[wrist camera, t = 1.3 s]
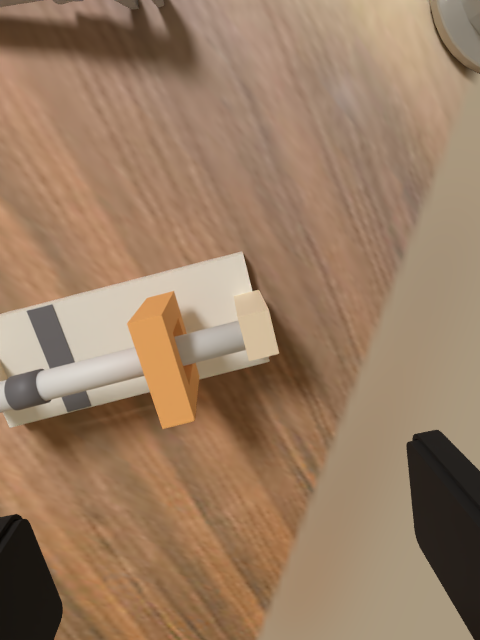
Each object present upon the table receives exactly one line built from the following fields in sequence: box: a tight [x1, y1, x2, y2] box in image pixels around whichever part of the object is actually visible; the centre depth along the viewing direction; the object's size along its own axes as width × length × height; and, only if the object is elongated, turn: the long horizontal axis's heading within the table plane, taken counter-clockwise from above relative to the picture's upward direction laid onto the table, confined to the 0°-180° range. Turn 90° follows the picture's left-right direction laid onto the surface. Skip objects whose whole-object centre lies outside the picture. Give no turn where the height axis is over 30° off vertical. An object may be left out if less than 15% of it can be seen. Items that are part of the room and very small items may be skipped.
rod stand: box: [0, 252, 279, 428], centre depth 30 cm, size 23×9×8 cm, turn 104°
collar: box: [127, 291, 200, 429], centre depth 27 cm, size 2×7×7 cm, turn 14°
